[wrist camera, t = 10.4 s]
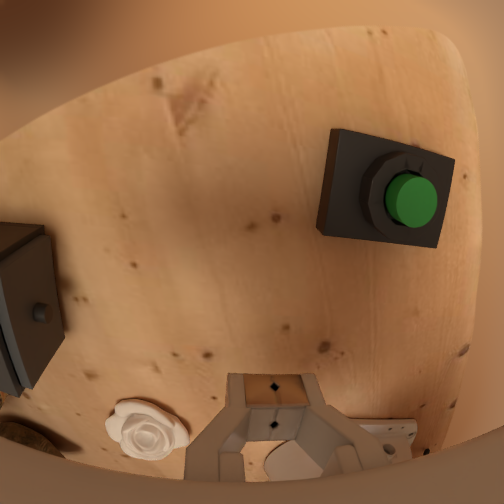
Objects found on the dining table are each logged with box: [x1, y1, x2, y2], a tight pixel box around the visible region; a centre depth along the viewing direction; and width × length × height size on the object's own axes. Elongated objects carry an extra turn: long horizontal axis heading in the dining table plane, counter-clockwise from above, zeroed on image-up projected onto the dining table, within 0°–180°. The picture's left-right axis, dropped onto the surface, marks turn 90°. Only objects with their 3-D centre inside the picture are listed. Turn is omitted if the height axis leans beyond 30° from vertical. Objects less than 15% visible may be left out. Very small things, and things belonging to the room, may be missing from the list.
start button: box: [385, 174, 437, 228], centre depth 21 cm, size 4×4×2 cm
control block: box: [316, 129, 455, 248], centre depth 23 cm, size 11×8×4 cm
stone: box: [0, 422, 66, 459], centre depth 30 cm, size 17×9×8 cm
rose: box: [105, 399, 190, 460], centre depth 30 cm, size 10×4×10 cm
